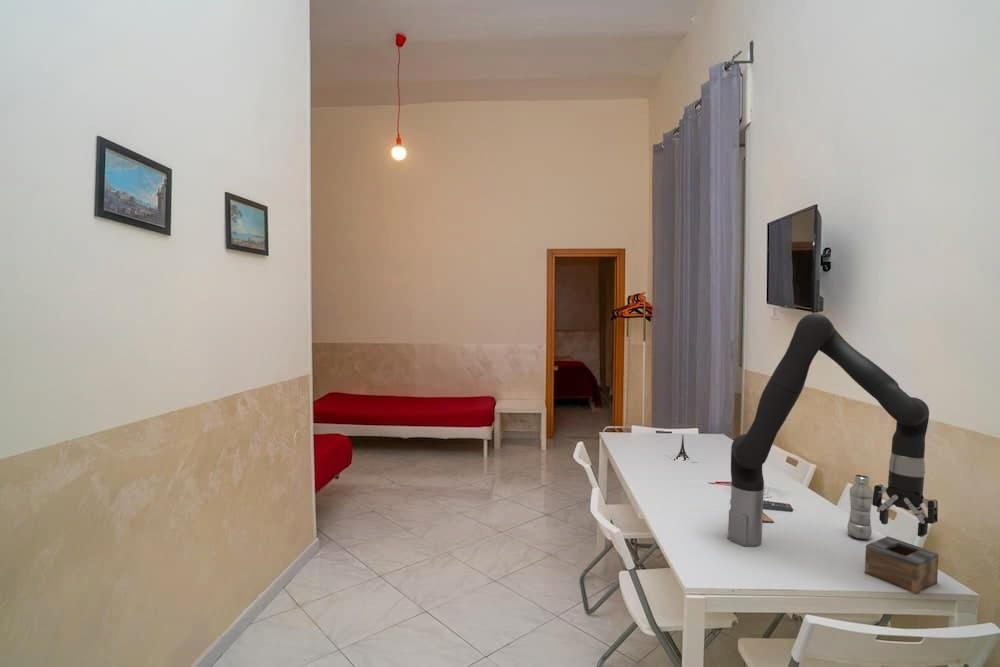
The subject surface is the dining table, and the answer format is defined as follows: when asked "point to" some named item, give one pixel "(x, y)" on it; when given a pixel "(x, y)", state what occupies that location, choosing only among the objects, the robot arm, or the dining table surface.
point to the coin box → (901, 564)
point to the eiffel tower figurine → (683, 450)
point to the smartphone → (767, 519)
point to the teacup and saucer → (764, 489)
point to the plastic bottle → (860, 508)
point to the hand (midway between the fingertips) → (902, 529)
